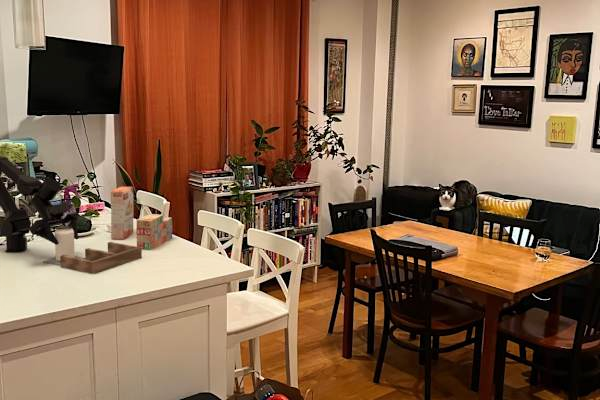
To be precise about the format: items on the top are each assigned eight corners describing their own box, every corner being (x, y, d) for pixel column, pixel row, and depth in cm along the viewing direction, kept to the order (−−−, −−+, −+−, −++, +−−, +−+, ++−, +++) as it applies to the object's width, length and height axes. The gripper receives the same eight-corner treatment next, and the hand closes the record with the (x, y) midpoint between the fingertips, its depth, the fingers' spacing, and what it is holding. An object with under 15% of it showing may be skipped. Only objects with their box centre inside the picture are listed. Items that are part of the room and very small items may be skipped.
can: (59, 257, 218) (57, 225, 216) (76, 257, 218) (75, 225, 216) (53, 261, 211) (52, 229, 209) (71, 262, 212) (70, 229, 210)
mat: (43, 262, 212) (43, 261, 212) (67, 255, 222) (67, 254, 222) (62, 266, 208) (62, 265, 208) (85, 259, 218) (85, 258, 218)
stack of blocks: (159, 237, 255) (158, 209, 253) (172, 238, 254) (172, 210, 252) (136, 249, 234) (136, 219, 232) (151, 250, 233) (150, 220, 231)
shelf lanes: (60, 267, 207) (60, 256, 206) (110, 251, 229) (110, 241, 228) (93, 274, 200) (93, 262, 200) (141, 257, 222) (141, 247, 222)
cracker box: (124, 240, 248) (124, 191, 244) (110, 239, 248) (109, 190, 244) (134, 232, 261) (133, 186, 258) (121, 232, 261) (120, 185, 258)
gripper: (34, 198, 204) (58, 233, 201) (75, 191, 220) (98, 223, 218) (19, 217, 209) (42, 251, 206) (61, 209, 225) (83, 241, 222)
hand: (67, 241), depth 213 cm, fingers open, 9 cm apart
